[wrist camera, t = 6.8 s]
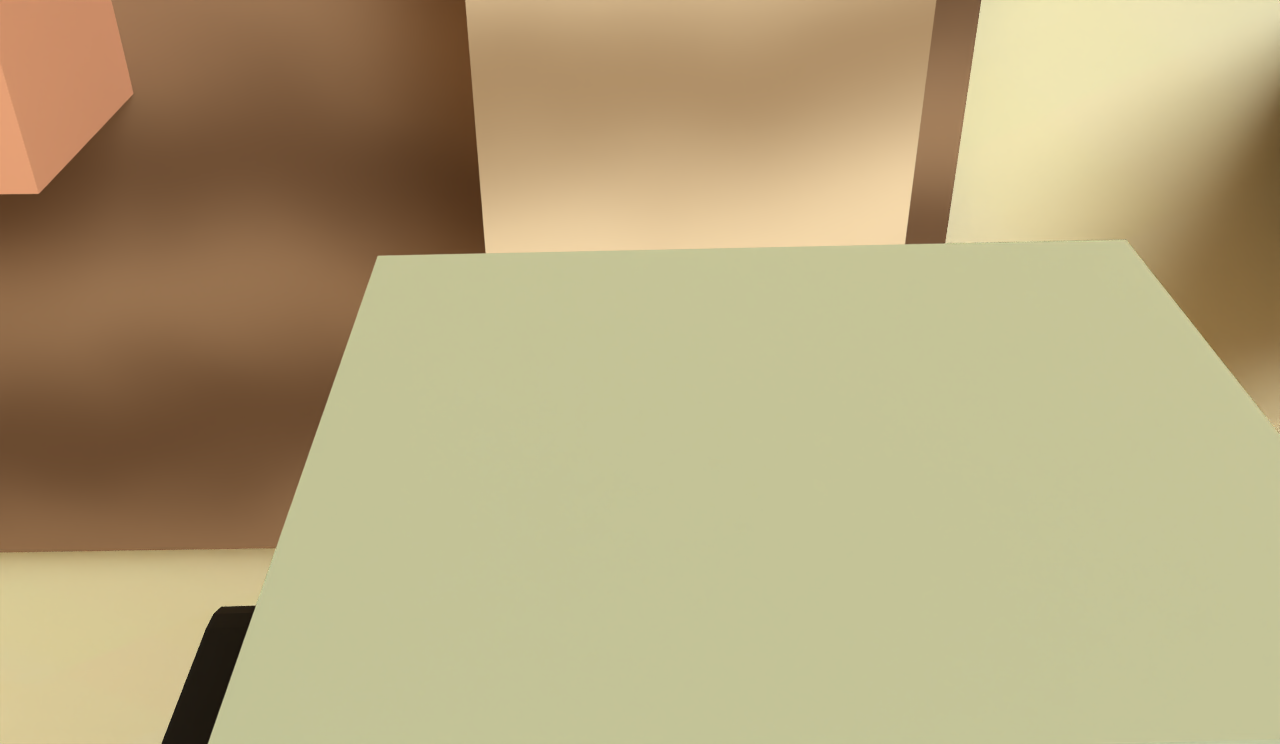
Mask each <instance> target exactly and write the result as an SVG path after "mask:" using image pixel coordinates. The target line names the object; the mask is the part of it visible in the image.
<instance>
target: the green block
mask: <svg viewBox="0 0 1280 744" xmlns="http://www.w3.org/2000/svg"><path fill="white" fill-rule="evenodd" d="M208 744H1280V434H1279V433H1278V432H1277V430H1276V429H1275V428H1274V426H1273V425H1272V424H1271V423H1270V421H1269V420H1268V419H1267V418H1266V416H1265V415H1264V414H1263V413H1262V411H1261V410H1260V409H1259V407H1258V406H1257V405H1256V404H1255V402H1254V401H1253V400H1252V399H1251V397H1250V396H1249V395H1248V393H1247V392H1246V391H1245V390H1244V388H1243V387H1242V386H1241V385H1240V383H1239V382H1238V381H1237V380H1236V378H1235V377H1234V376H1233V374H1232V373H1231V372H1230V371H1229V369H1228V368H1227V367H1226V366H1225V364H1224V363H1223V362H1222V361H1221V359H1220V358H1219V357H1218V355H1217V354H1216V353H1215V352H1214V350H1213V349H1212V348H1211V347H1210V345H1209V344H1208V343H1207V342H1206V340H1205V339H1204V338H1203V336H1202V335H1201V334H1200V333H1199V331H1198V330H1197V329H1196V328H1195V326H1194V325H1193V324H1192V323H1191V321H1190V320H1189V319H1188V317H1187V316H1186V315H1185V314H1184V312H1183V311H1182V310H1181V309H1180V307H1179V306H1178V305H1177V304H1176V302H1175V301H1174V300H1173V298H1172V297H1171V296H1170V295H1169V293H1168V292H1167V291H1166V290H1165V288H1164V287H1163V286H1162V285H1161V283H1160V282H1159V281H1158V279H1157V278H1156V277H1155V276H1154V274H1153V273H1152V272H1151V271H1150V269H1149V268H1148V267H1147V266H1146V264H1145V263H1144V262H1143V260H1142V259H1141V258H1140V257H1139V255H1138V254H1137V253H1136V252H1135V250H1134V249H1133V248H1132V247H1131V245H1130V244H1129V243H1128V241H1127V240H1083V241H1037V242H990V243H944V244H898V245H851V246H805V247H759V248H713V249H666V250H620V251H574V252H527V253H481V254H435V255H388V256H377V259H376V262H375V265H374V268H373V271H372V274H371V277H370V279H369V282H368V285H367V288H366V291H365V294H364V297H363V300H362V302H361V305H360V308H359V311H358V314H357V317H356V320H355V323H354V325H353V328H352V331H351V334H350V337H349V340H348V343H347V346H346V348H345V351H344V354H343V357H342V360H341V363H340V366H339V369H338V371H337V374H336V377H335V380H334V383H333V386H332V389H331V392H330V394H329V397H328V400H327V403H326V406H325V409H324V412H323V415H322V417H321V420H320V423H319V426H318V429H317V432H316V435H315V437H314V440H313V443H312V446H311V449H310V452H309V455H308V458H307V460H306V463H305V466H304V469H303V472H302V475H301V478H300V481H299V483H298V486H297V489H296V492H295V495H294V498H293V501H292V504H291V506H290V509H289V512H288V515H287V518H286V521H285V524H284V527H283V529H282V532H281V535H280V538H279V541H278V544H277V547H276V550H275V552H274V555H273V558H272V561H271V564H270V567H269V570H268V573H267V575H266V578H265V581H264V584H263V587H262V590H261V593H260V596H259V598H258V601H257V604H256V607H255V610H254V613H253V616H252V618H251V621H250V624H249V627H248V630H247V633H246V636H245V639H244V641H243V644H242V647H241V650H240V653H239V656H238V659H237V662H236V664H235V667H234V670H233V673H232V676H231V679H230V682H229V685H228V687H227V690H226V693H225V696H224V699H223V702H222V705H221V708H220V710H219V713H218V716H217V719H216V722H215V725H214V728H213V731H212V733H211V736H210V739H209V742H208Z"/></svg>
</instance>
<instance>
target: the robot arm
mask: <svg viewBox="0 0 1280 744" xmlns="http://www.w3.org/2000/svg"><path fill="white" fill-rule="evenodd" d="M255 607H256V606H231V607H221V608H220V609H218V610H217V611H216V612H215V613H214V614H213V616H212V618H211V620H210V622H209V624H208V626H207V628H206V630H205V633H204V635H203V638H202V640H201V643H200V646H199V648H198V651H197V653H196V656H195V659H194V661H193V664H192V666H191V669H190V671H189V674H188V677H187V679H186V682H185V684H184V687H183V690H182V692H181V695H180V697H179V700H178V702H177V705H176V708H175V710H174V713H173V715H172V718H171V721H170V723H169V726H168V728H167V731H166V733H165V736H164V739H163V741H162V744H208V742H209V739H210V736H211V733H212V731H213V728H214V725H215V722H216V719H217V716H218V713H219V710H220V708H221V705H222V702H223V699H224V696H225V693H226V690H227V687H228V685H229V682H230V679H231V676H232V673H233V670H234V667H235V664H236V662H237V659H238V656H239V653H240V650H241V647H242V644H243V641H244V639H245V636H246V633H247V630H248V627H249V624H250V621H251V618H252V616H253V613H254V610H255Z"/></svg>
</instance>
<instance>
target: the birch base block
mask: <svg viewBox="0 0 1280 744" xmlns="http://www.w3.org/2000/svg"><path fill="white" fill-rule="evenodd" d="M465 3H466V15H467V28H468V40H469V53H470V65H471V77H472V90H473V102H474V115H475V127H476V139H477V152H478V164H479V177H480V189H481V201H482V214H483V226H484V239H485V251H486V253H527V252H574V251H620V250H666V249H713V248H759V247H805V246H851V245H898V244H905V240H906V232H907V224H908V216H909V209H910V201H911V193H912V185H913V178H914V170H915V162H916V154H917V146H918V139H919V131H920V123H921V115H922V108H923V100H924V92H925V84H926V77H927V69H928V61H929V53H930V45H931V38H932V30H933V22H934V14H935V7H936V0H465Z"/></svg>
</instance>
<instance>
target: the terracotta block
mask: <svg viewBox="0 0 1280 744" xmlns="http://www.w3.org/2000/svg"><path fill="white" fill-rule="evenodd" d="M133 94H134V93H133V89H132V85H131V81H130V77H129V72H128V68H127V64H126V60H125V55H124V51H123V47H122V43H121V39H120V34H119V30H118V26H117V22H116V18H115V13H114V9H113V5H112V1H111V0H0V194H39V193H40V192H41V191H42V190H43V189H44V188H45V187H46V186H47V185H48V184H49V183H50V182H51V181H52V180H53V178H54V177H55V176H56V175H57V174H58V173H59V172H60V171H61V170H62V169H63V168H64V167H65V166H66V165H67V164H68V163H69V162H70V160H71V159H72V158H73V157H74V156H75V155H76V154H77V153H78V152H79V151H80V150H81V149H82V148H83V147H84V146H85V145H86V144H87V142H88V141H89V140H90V139H91V138H92V137H93V136H94V135H95V134H96V133H97V132H98V131H99V130H100V129H101V128H102V127H103V126H104V125H105V123H106V122H107V121H108V120H109V119H110V118H111V117H112V116H113V115H114V114H115V113H116V112H117V111H118V110H119V109H120V108H121V107H122V105H123V104H124V103H125V102H126V101H127V100H128V99H129V98H130V97H131V96H132V95H133Z"/></svg>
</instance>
